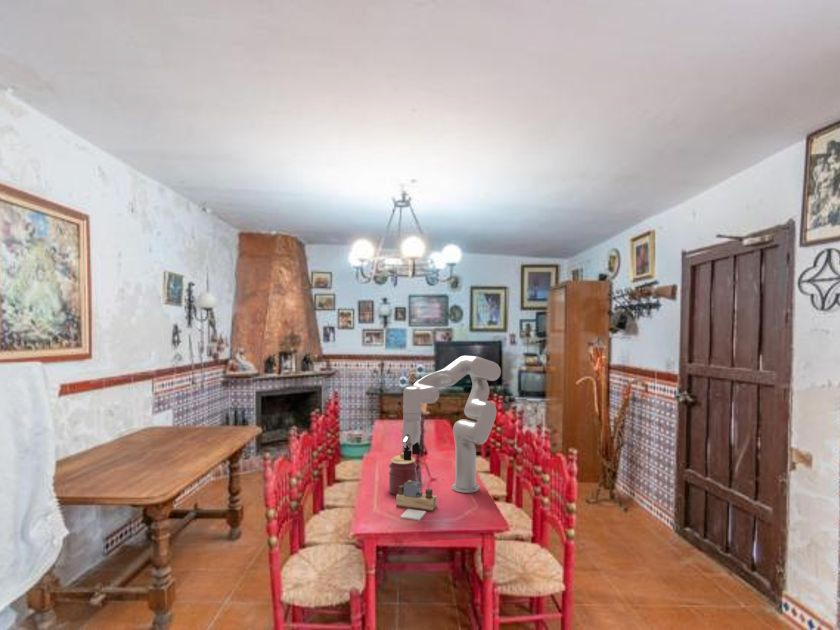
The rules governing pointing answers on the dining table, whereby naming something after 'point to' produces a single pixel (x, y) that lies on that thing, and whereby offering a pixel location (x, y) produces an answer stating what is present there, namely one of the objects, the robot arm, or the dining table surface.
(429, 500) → the plane body
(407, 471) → the canister
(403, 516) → the felt pad
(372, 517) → the dining table surface
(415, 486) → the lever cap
